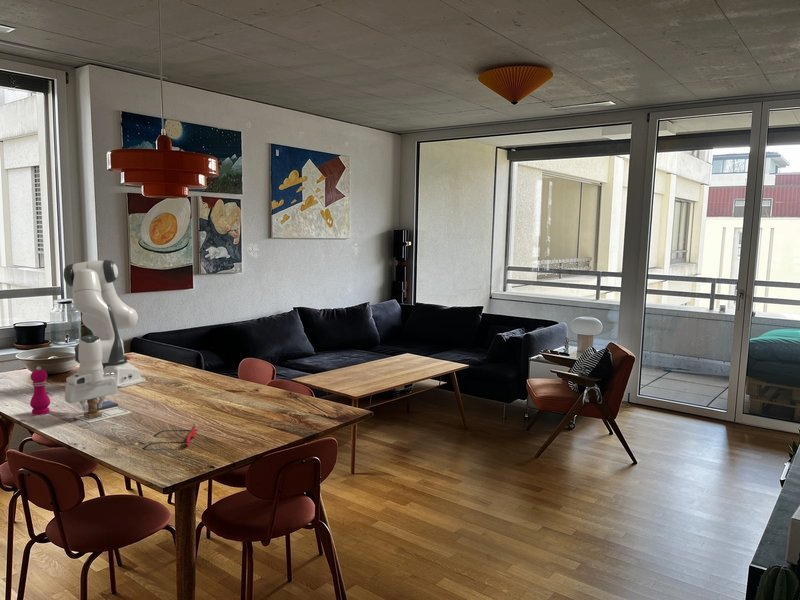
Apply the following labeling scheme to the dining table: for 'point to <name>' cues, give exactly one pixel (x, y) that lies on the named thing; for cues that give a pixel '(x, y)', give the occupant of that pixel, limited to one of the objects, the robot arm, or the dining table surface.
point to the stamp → (92, 409)
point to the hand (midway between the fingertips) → (92, 408)
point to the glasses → (179, 442)
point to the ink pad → (107, 405)
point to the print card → (105, 414)
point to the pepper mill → (39, 392)
